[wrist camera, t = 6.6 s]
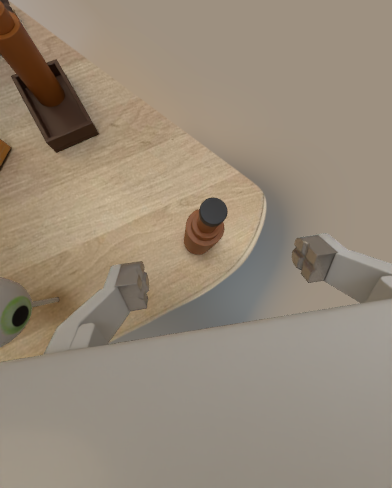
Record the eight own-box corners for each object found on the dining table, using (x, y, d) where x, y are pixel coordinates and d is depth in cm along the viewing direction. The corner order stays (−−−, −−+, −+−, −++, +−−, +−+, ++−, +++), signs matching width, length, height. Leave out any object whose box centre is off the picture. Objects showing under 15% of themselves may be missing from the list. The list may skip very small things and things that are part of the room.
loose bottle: (201, 260, 33) (220, 246, 17) (178, 244, 33) (177, 216, 17) (216, 237, 34) (248, 205, 18) (194, 222, 34) (207, 176, 18)
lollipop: (78, 324, 30) (-21, 372, 15) (28, 323, 29) (-126, 373, 15) (83, 276, 31) (-4, 278, 16) (35, 275, 30) (-100, 275, 16)
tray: (99, 134, 35) (92, 122, 32) (56, 152, 34) (46, 142, 31) (64, 74, 36) (56, 59, 34) (22, 90, 35) (10, 75, 32)
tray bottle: (52, 111, 34) (-57, -28, 18) (31, 97, 34) (-95, -55, 19) (70, 93, 35) (-20, -55, 19) (49, 79, 35) (-57, -80, 19)
